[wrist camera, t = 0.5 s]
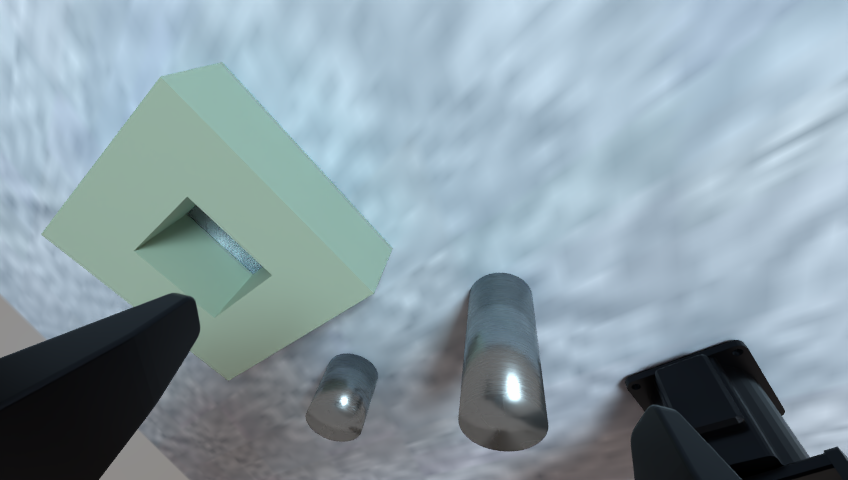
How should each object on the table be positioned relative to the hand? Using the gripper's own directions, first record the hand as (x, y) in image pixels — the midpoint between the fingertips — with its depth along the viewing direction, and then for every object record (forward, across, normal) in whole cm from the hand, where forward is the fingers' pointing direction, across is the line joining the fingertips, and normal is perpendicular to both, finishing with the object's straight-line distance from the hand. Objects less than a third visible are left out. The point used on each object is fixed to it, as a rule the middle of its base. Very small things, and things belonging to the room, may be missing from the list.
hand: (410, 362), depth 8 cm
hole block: (+13, +11, +6) cm, 18 cm away
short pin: (+13, +5, +17) cm, 22 cm away
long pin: (+13, -4, +8) cm, 16 cm away
